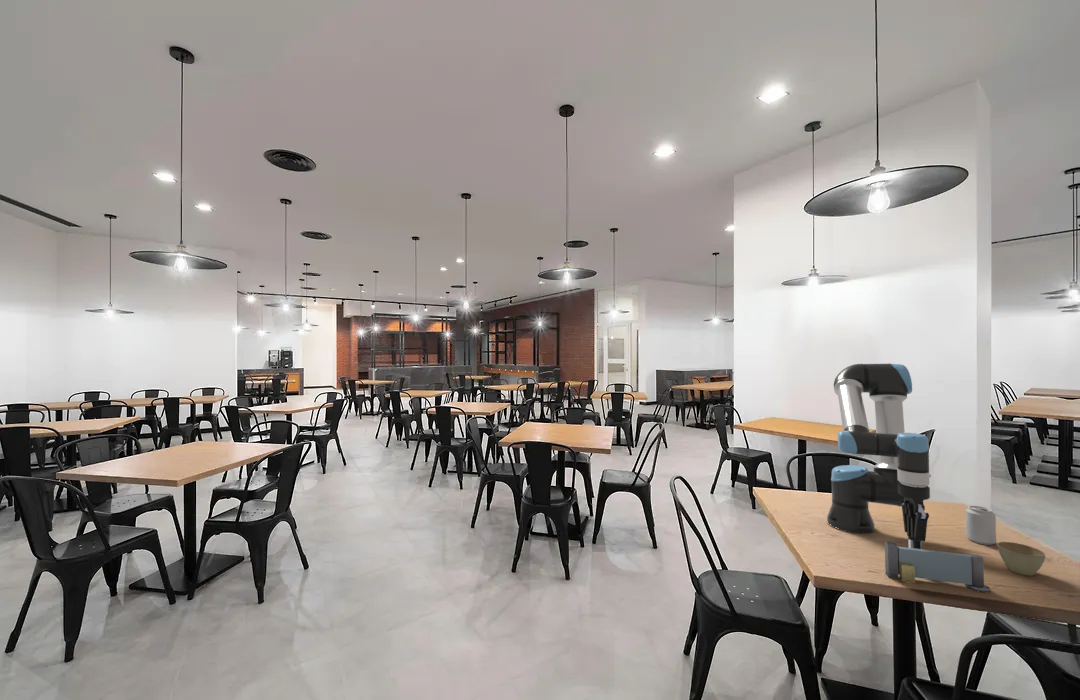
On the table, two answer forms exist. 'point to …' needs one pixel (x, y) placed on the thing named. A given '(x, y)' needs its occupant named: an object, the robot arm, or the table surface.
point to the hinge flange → (978, 588)
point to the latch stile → (892, 564)
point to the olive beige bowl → (1021, 557)
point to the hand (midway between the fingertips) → (915, 559)
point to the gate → (944, 565)
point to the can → (981, 525)
